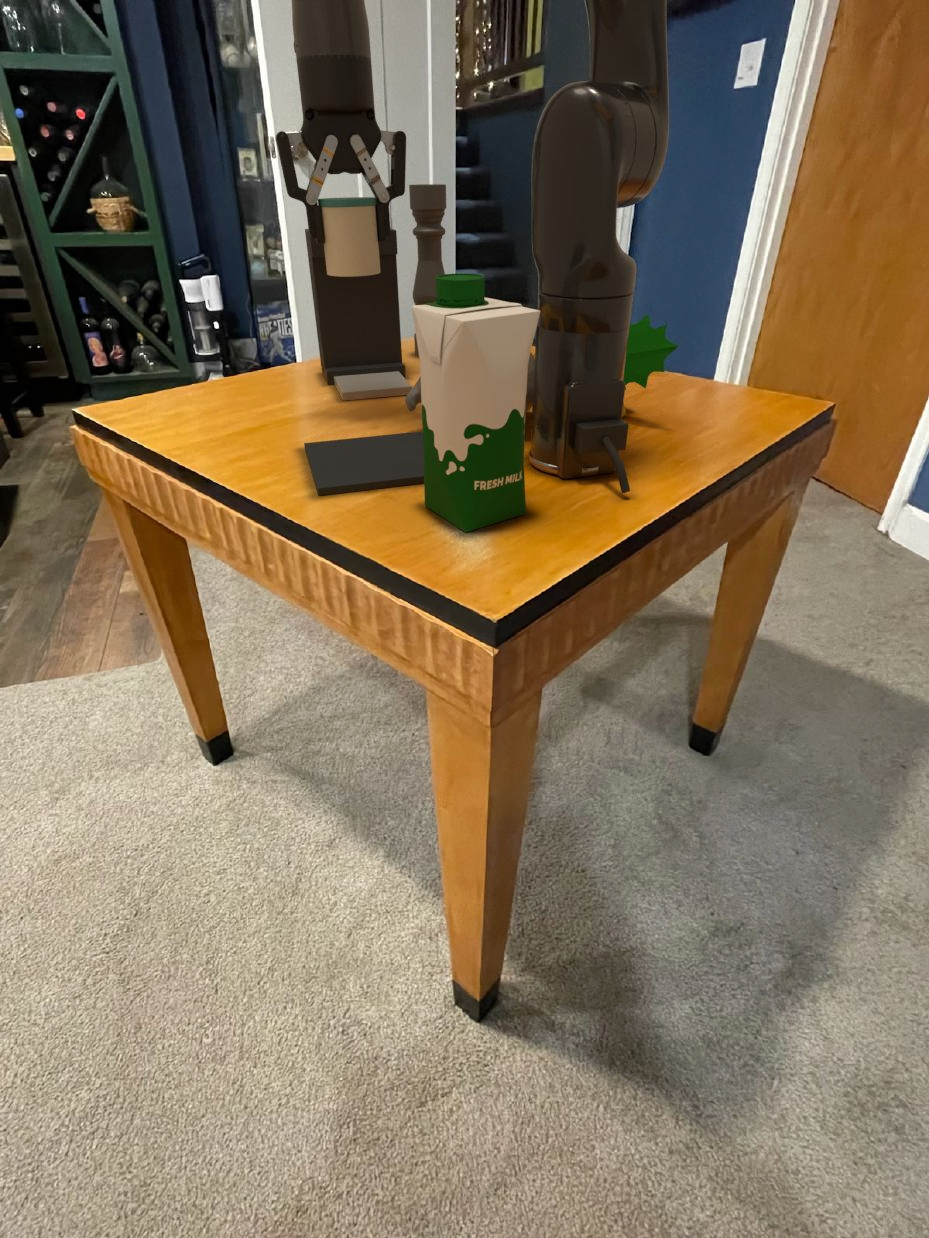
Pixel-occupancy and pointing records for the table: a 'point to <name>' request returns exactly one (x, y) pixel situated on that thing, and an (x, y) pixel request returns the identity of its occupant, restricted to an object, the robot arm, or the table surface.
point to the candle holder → (427, 240)
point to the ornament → (645, 352)
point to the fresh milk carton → (473, 401)
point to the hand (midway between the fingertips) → (351, 242)
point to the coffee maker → (359, 326)
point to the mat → (366, 462)
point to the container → (350, 236)
